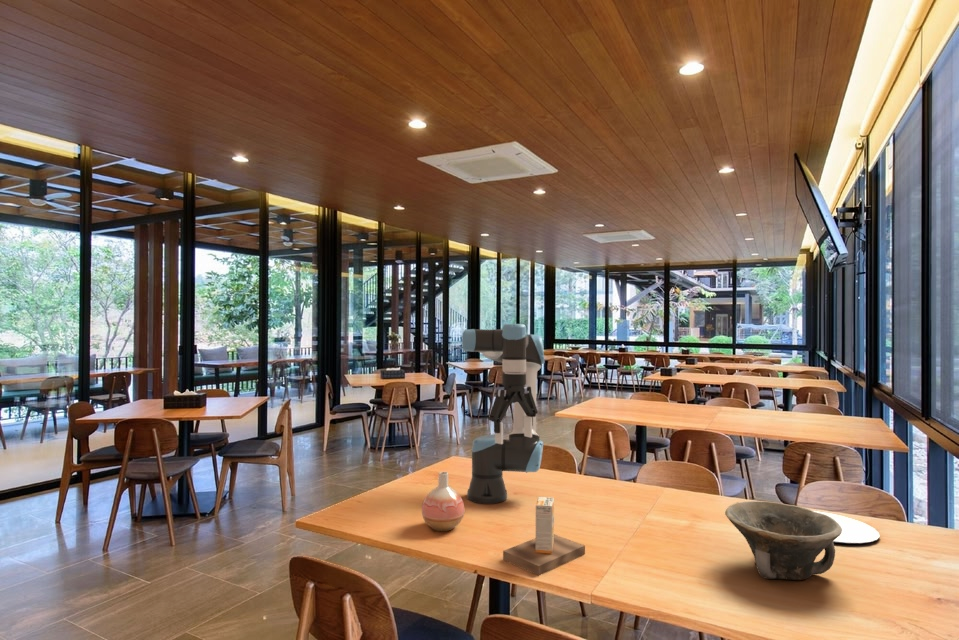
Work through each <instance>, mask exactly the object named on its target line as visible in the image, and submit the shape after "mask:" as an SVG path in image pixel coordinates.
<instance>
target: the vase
mask: <svg viewBox="0 0 959 640" xmlns="http://www.w3.org/2000/svg"><path fill="white" fill-rule="evenodd" d="M437 482H438V484H437V486H436V487H435V488H434V489H432V490H431V491H430V492H428V493H427V495H426V496H425V497H424V500H423V503H422V506H421V515H422V518H423V520H424V522H425V523H426V524H427V525H428V526H429V527H430V528H431V529H433V530H434V531H436V532H437V531H438V532H447V531H452V530H453V529H455V528H456V527H457V526H458V525H459V524H460V523H461V522H462V520H463V518H464V516H465V503H464V500H463V498H462V496H461V495H460V493H459V492H458V491H456V490H455V489H453V488H452V487H451V486H449V472H447V471H440V472H439V473H438V481H437Z"/></svg>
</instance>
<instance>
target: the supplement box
mask: <svg viewBox="0 0 959 640" xmlns="http://www.w3.org/2000/svg"><path fill="white" fill-rule="evenodd" d="M554 531H555V498H554V497H548V496H547V497H546V496H538V497H537V500H536V503H535V538H536V547H535V552H536V553H547V554H552V547H553V543H554V534H555V533H554Z"/></svg>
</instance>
